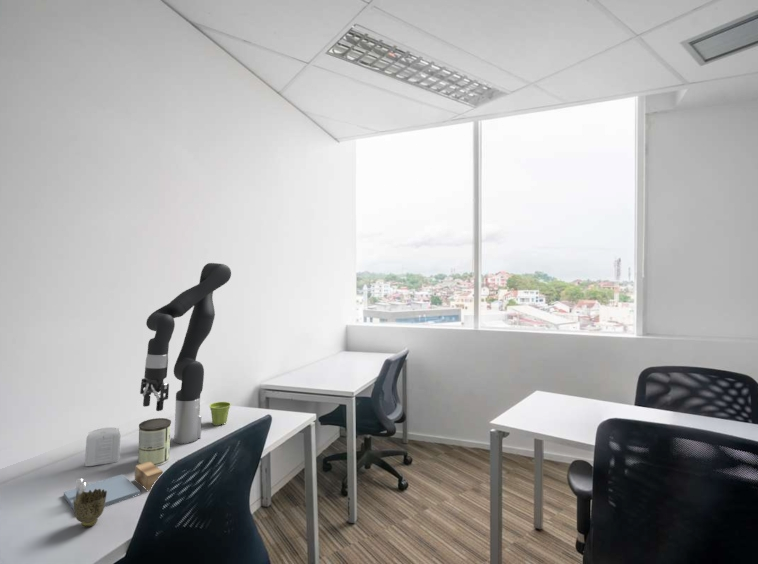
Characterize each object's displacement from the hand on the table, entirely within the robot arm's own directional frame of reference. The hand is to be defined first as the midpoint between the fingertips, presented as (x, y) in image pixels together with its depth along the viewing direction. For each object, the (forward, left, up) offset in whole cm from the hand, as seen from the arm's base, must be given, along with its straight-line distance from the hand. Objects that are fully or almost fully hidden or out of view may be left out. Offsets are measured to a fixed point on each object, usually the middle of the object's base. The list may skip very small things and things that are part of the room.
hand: (152, 408), depth 154 cm
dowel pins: (+27, +20, -16) cm, 38 cm away
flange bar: (+9, +22, -18) cm, 30 cm away
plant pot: (-34, -12, -18) cm, 40 cm away
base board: (+22, +20, -17) cm, 34 cm away
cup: (+29, +34, -18) cm, 48 cm away
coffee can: (+2, +7, -18) cm, 19 cm away
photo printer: (+15, -4, -18) cm, 23 cm away
